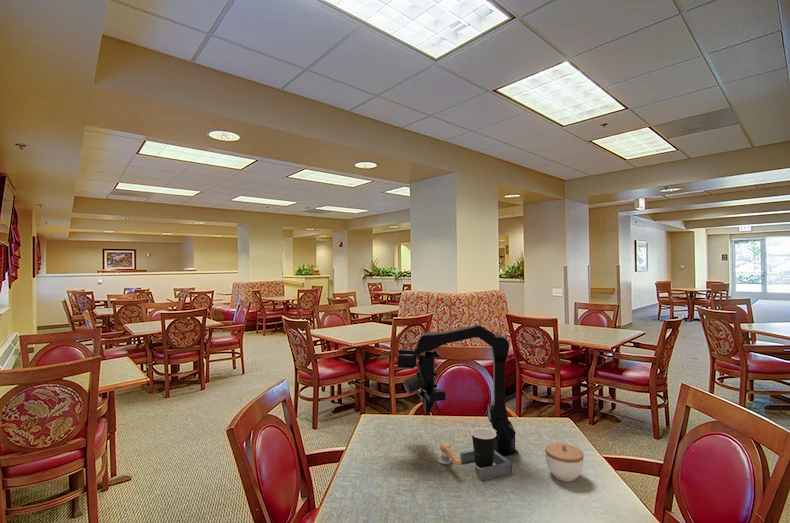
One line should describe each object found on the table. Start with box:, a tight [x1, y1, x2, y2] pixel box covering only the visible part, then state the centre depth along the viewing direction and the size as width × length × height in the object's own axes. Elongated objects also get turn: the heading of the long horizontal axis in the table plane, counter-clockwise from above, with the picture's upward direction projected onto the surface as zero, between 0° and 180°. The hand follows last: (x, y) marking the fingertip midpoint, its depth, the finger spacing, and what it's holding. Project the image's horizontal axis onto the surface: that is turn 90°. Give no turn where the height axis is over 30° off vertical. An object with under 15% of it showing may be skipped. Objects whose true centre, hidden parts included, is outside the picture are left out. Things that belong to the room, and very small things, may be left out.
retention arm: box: [439, 442, 462, 466], centre depth 124 cm, size 13×4×1 cm, turn 14°
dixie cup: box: [470, 427, 497, 471], centre depth 125 cm, size 8×8×11 cm
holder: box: [459, 448, 513, 481], centre depth 125 cm, size 11×12×3 cm
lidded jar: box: [544, 442, 584, 483], centre depth 119 cm, size 11×11×9 cm
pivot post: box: [437, 450, 454, 466], centre depth 129 cm, size 5×5×4 cm
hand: (427, 413), depth 139 cm, fingers closed
